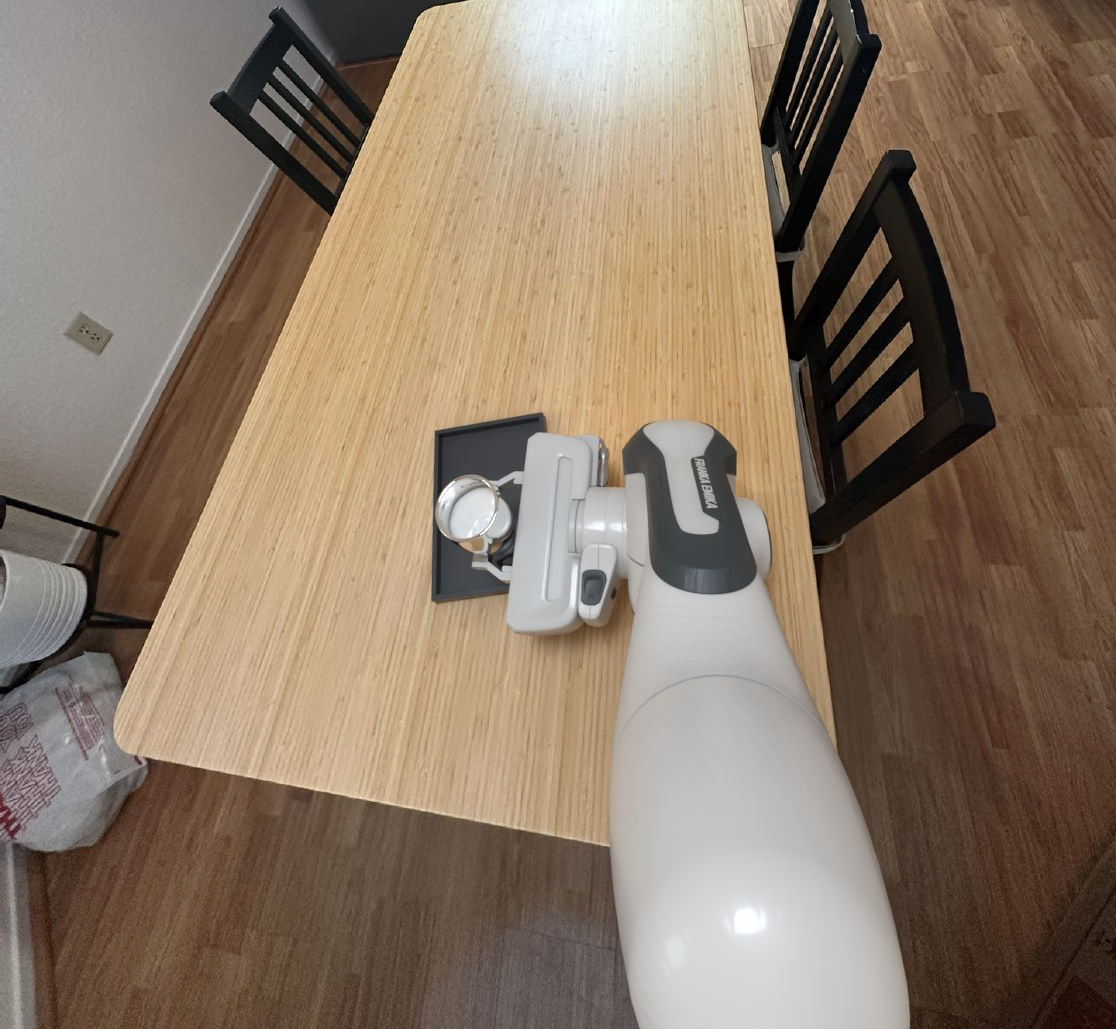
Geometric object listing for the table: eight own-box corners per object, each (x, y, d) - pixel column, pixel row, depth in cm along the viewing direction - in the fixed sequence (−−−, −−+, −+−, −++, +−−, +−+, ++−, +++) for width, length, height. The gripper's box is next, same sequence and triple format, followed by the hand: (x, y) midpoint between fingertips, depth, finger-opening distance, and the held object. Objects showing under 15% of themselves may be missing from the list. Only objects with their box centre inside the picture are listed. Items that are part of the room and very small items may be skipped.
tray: (560, 585, 73) (557, 583, 72) (436, 603, 75) (430, 600, 74) (545, 417, 86) (542, 411, 84) (439, 435, 87) (434, 430, 86)
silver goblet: (469, 530, 76) (423, 495, 64) (519, 499, 77) (482, 459, 65) (492, 584, 72) (448, 558, 60) (545, 551, 73) (511, 519, 61)
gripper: (606, 424, 69) (486, 422, 72) (594, 637, 57) (452, 624, 60) (613, 444, 74) (501, 442, 77) (604, 644, 62) (473, 631, 65)
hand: (479, 524), depth 68 cm, fingers closed on silver goblet, 6 cm apart
